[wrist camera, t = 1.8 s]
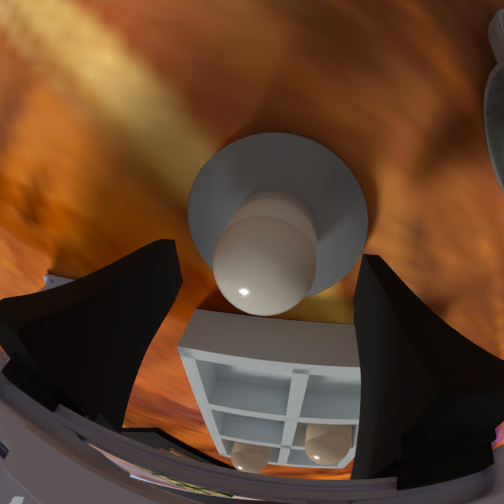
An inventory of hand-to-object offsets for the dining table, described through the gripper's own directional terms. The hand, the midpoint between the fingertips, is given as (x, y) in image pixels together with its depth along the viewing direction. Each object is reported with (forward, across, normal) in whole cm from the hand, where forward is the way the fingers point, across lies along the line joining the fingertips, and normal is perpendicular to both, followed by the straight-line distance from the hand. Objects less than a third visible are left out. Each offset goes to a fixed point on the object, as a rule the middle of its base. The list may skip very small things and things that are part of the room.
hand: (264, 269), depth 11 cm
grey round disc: (+5, 0, 0) cm, 5 cm away
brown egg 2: (+4, -5, +18) cm, 19 cm away
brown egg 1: (+4, +2, +25) cm, 25 cm away
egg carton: (+5, -2, +18) cm, 19 cm away
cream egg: (+4, 0, 0) cm, 4 cm away
